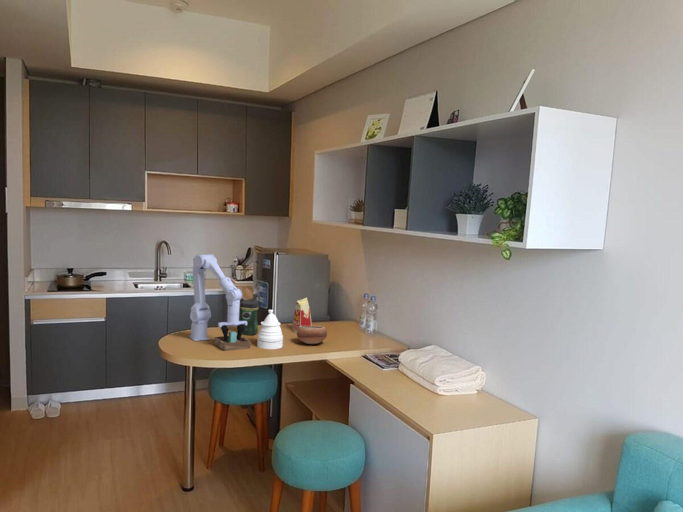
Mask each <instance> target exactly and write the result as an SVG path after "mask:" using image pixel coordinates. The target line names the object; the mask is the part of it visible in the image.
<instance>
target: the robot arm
mask: <svg viewBox="0 0 683 512" xmlns="http://www.w3.org/2000/svg"><path fill="white" fill-rule="evenodd" d="M192 261H193V266H192V280H193V283H192V284H193V296H194V297H193V299H194V304H193V305H192V306H191V308H190V314H189V317H190V321H191V326H190V327H191V328H190V335H188V337H189V339H191V340H193V341H194V342H197V341H198V342H199V341H209V340H210V338H209V337H208V323H209V320H210V318H211V317H212V312H211V309H210V305H209V304H208V303H207V302H206V286H205V272H206V271H207V270H210V272H212V273H213V275H214V276H215V277H216V279H218V282H219V283H218V284H219V286H220V287H221V289H222V291H223V292H224V294H225V299H226V304H227V314H226V316H227V319H226V320H227V321H222V322H218V324H217V326H218V328H220V329H221V332H222V334H223V336H224V341H227V340H228V336H229V330H230V329H229V328H228V327H236V331H237V332H236V333H237V340H240V338H241V336H242V335H243V334H242V332H243V330H244V329H245V326H244V325H247V321H241V320H240V306H241V301H242V298H243V297H244V296H243V292H242V289H240V288H237V287H236V286H235V284H234V283H233V282H232V279H231V278H229V277H228V276H227V277H226V276H225V274H224V273H223V271H222V269H221V267H220V265H219V264H218V259H217V258H216V257H215V255H214V254H213V253H208V254H197V255H196V256H194V257H193V259H192Z"/></svg>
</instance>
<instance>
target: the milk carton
mask: <svg viewBox="0 0 683 512" xmlns="http://www.w3.org/2000/svg"><path fill="white" fill-rule="evenodd" d="M300 326H312V315H311V308H310V305H309V301H308V297H305V298H302V299H298V300H296V303H295V308H294V313H293V319H292V331H293V332H294V333H295V334H297V331H298V328H299V327H300Z"/></svg>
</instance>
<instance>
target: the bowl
mask: <svg viewBox="0 0 683 512" xmlns="http://www.w3.org/2000/svg"><path fill="white" fill-rule="evenodd" d="M296 336H297V338H298V339H299V340H300V341H301V342H302V343H304V344H306V345H317V344H319V343H320V344H321V342H323V341H324V340H326V338H327V336H328V334H327V329H326V327H325V326H320V325H311V326H300V327H299V328H298V331H297V333H296Z"/></svg>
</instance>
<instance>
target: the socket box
mask: <svg viewBox="0 0 683 512" xmlns="http://www.w3.org/2000/svg"><path fill="white" fill-rule="evenodd" d="M213 345H215V346H216V347H218V348H219V349H220V350H222V351H223V352H224V351H225V352H226V351H235V350H245V349H246V350H247V349H251V340H249V339H248V338H246V337H244V336H242V335H241V338H240V340H237V336H236V342H232V343H228V340H227V341H224V335H223V336H214V339H213Z"/></svg>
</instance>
